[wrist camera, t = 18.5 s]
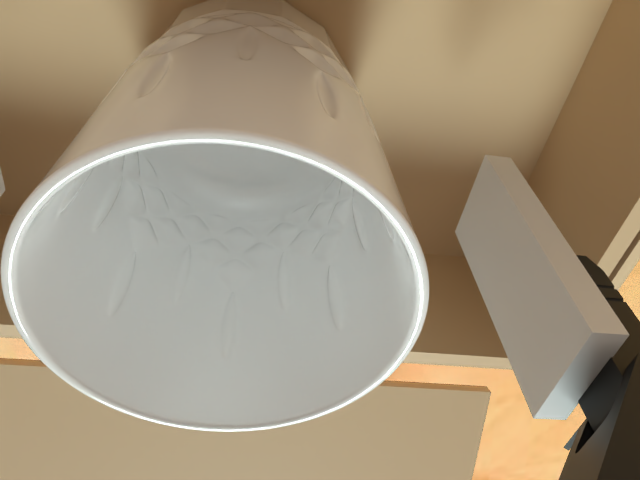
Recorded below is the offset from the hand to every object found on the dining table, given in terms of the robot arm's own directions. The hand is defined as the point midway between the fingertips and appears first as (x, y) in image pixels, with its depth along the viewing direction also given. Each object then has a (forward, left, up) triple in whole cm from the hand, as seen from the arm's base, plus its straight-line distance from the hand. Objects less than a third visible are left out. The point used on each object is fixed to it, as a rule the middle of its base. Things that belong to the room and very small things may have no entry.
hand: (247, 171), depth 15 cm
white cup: (0, 0, -4) cm, 5 cm away
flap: (0, -7, +1) cm, 7 cm away
